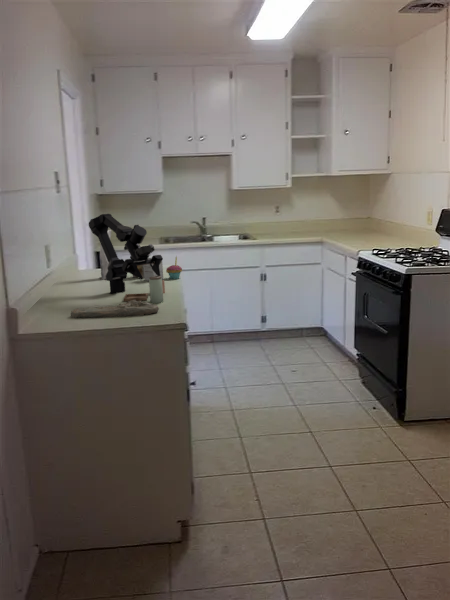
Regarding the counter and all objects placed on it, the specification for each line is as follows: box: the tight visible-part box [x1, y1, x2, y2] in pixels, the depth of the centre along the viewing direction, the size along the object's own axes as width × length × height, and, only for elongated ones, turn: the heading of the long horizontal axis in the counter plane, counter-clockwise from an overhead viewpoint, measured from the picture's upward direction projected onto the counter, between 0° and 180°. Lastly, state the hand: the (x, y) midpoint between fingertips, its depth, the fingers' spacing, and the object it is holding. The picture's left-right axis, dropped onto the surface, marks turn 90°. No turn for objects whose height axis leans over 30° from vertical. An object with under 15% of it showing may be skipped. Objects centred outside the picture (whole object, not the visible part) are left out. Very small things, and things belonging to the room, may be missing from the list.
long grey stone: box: [70, 300, 159, 319], centre depth 229 cm, size 35×5×10 cm
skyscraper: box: [98, 229, 112, 281], centre depth 311 cm, size 8×8×28 cm
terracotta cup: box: [162, 279, 166, 294], centre depth 267 cm, size 6×6×6 cm
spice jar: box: [148, 276, 164, 304], centre depth 248 cm, size 6×6×11 cm
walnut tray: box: [123, 292, 149, 303], centre depth 255 cm, size 10×10×2 cm
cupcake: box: [166, 255, 183, 280], centre depth 305 cm, size 9×8×12 cm
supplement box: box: [144, 254, 164, 282], centre depth 303 cm, size 7×7×13 cm
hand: (151, 277), depth 250 cm, fingers open, 9 cm apart
